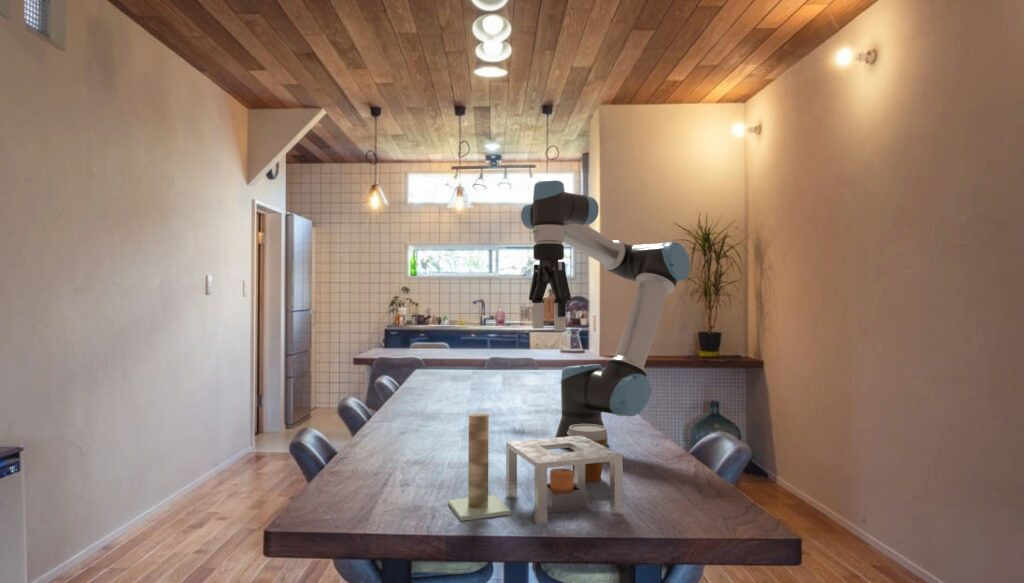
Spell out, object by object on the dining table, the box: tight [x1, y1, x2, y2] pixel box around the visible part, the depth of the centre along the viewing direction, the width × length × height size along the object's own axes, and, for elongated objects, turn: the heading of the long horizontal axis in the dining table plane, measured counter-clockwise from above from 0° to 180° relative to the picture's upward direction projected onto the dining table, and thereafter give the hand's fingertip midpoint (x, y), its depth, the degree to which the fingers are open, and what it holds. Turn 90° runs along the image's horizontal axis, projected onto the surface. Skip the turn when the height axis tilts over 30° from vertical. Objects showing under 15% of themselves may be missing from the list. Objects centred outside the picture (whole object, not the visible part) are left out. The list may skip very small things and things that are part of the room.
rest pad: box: [447, 494, 511, 522], centre depth 120 cm, size 10×10×1 cm
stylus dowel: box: [467, 412, 490, 509], centre depth 120 cm, size 4×4×18 cm
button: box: [549, 467, 574, 493], centre depth 123 cm, size 5×5×6 cm
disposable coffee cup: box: [567, 424, 609, 484], centre depth 140 cm, size 10×10×12 cm
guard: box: [505, 435, 624, 526], centre depth 123 cm, size 18×18×12 cm
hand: (548, 329), depth 147 cm, fingers open, 13 cm apart
